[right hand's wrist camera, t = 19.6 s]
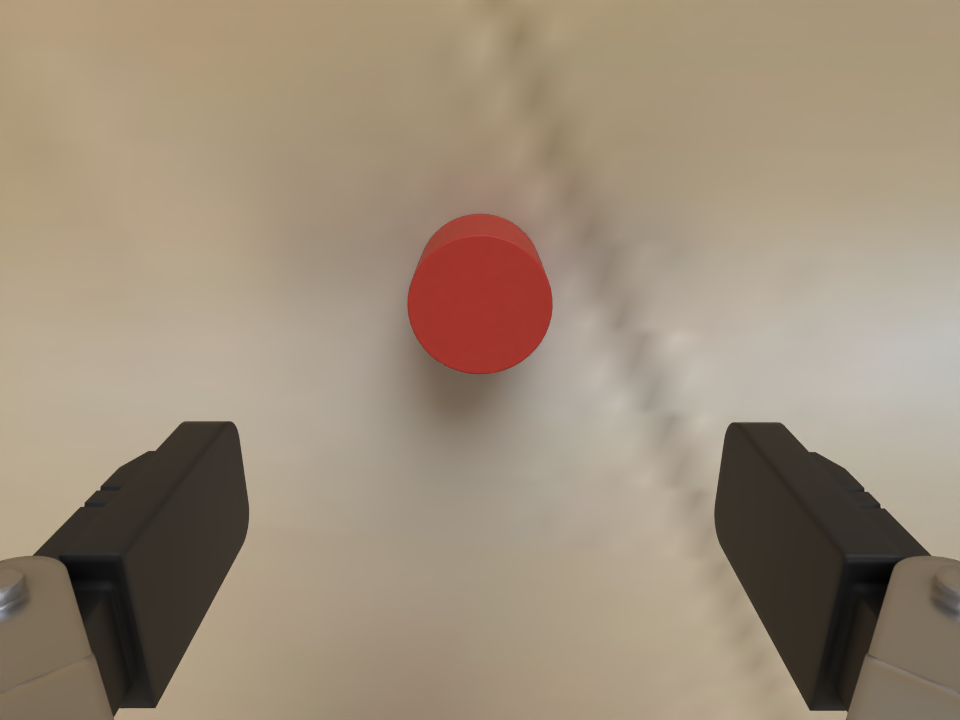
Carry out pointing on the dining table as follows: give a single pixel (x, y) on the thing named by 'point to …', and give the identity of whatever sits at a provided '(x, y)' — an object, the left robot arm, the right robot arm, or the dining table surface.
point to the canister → (480, 295)
